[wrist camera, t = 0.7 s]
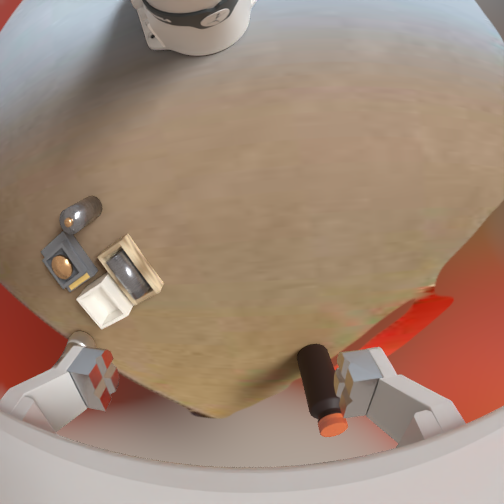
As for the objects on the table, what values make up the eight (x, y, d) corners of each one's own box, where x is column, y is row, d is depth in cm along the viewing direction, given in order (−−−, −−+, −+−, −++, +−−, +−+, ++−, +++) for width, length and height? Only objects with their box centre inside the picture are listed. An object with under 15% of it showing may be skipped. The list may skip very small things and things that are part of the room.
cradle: (45, 247, 46) (36, 254, 43) (68, 227, 45) (58, 234, 42) (74, 287, 50) (66, 296, 47) (98, 270, 49) (90, 279, 46)
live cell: (111, 255, 47) (102, 265, 43) (126, 245, 46) (118, 254, 43) (139, 293, 50) (132, 305, 46) (155, 284, 49) (149, 296, 46)
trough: (103, 250, 47) (97, 257, 44) (128, 233, 46) (121, 239, 43) (139, 296, 51) (134, 305, 49) (163, 283, 50) (160, 291, 48)
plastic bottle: (88, 353, 57) (57, 417, 39) (68, 332, 55) (31, 394, 36) (103, 344, 56) (71, 412, 38) (82, 322, 54) (43, 388, 35)
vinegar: (322, 365, 61) (345, 437, 42) (294, 365, 60) (310, 441, 42) (331, 343, 58) (359, 417, 40) (300, 342, 57) (321, 421, 39)
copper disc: (49, 261, 44) (47, 263, 43) (62, 250, 43) (60, 251, 43) (63, 280, 46) (61, 282, 45) (77, 270, 45) (75, 272, 44)
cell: (79, 203, 43) (53, 219, 36) (94, 191, 43) (68, 204, 35) (90, 222, 45) (67, 240, 37) (106, 210, 44) (83, 227, 36)
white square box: (86, 285, 50) (76, 299, 45) (111, 269, 49) (101, 282, 44) (110, 314, 53) (101, 329, 48) (135, 300, 52) (128, 315, 47)
